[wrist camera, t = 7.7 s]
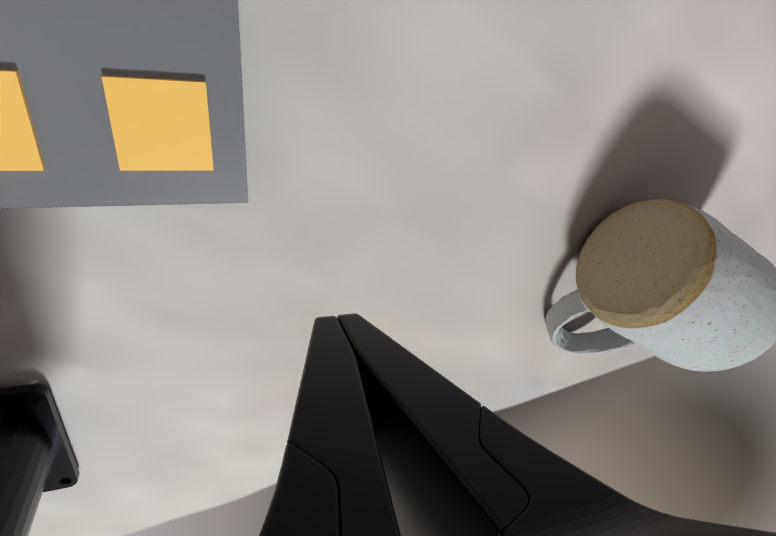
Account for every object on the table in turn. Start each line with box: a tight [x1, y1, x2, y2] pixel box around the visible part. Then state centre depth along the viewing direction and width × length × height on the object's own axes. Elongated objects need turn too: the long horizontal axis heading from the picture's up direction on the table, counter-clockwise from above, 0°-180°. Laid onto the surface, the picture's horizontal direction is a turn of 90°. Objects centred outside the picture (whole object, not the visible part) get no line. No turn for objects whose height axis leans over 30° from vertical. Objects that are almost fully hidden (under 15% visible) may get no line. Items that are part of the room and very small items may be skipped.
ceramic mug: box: [545, 199, 776, 371], centre depth 25 cm, size 11×8×8 cm
